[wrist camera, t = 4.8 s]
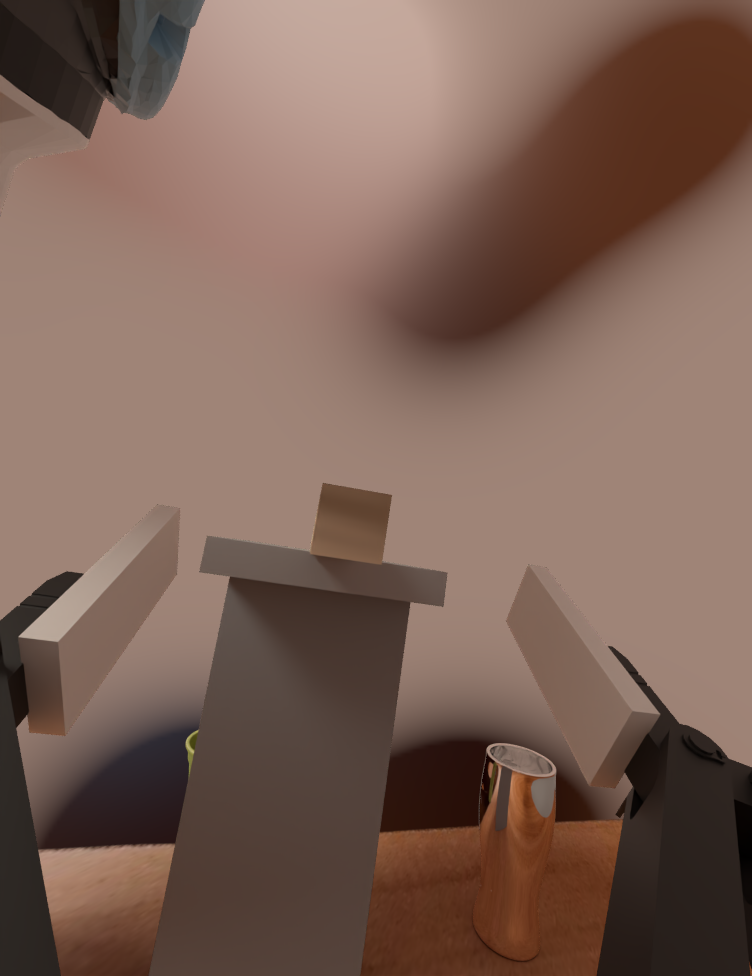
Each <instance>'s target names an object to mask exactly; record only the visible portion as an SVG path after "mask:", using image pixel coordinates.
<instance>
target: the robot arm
mask: <svg viewBox="0 0 752 976" xmlns="http://www.w3.org/2000/svg"><path fill="white" fill-rule="evenodd" d="M204 1H205V0H0V215H1V212H2V209H3V206H4V202H5V199H6V196H7V193H8V190H9V186H10V183H11V180H12V177H13V174H14V171H15V170H16V169H17V167H18V166H19V165H20V164H21V163H23V162H24V161H26V160H28V159H29V158H34V157H40V156H46V155H52V154H58V153H64V152H69V151H76V150H82V149H86V148H87V146H88V143H89V141H90V137H91V134H92V131H93V128H94V126H95V123H96V120H97V117H98V114H99V111H100V109H101V106H102V103H103V101H104V100H105V98H107V99H108V101H109V102H111V103H113V104H114V105H115V106H116V107H117V108H118V109H119V110H120V111H121V113H122V114H123V113H128V114H131V115H133V116H135V117H137V118H140V119H144V120H147V119H150V118H153V117H154V116H155V115H156V114H157V113H158V112H159V111H160V110H161V108H162V107H163V105H164V103H165V102H166V100H167V98H168V96H169V94H170V91H171V90H172V88H173V86H174V83H175V81H176V79H177V77H178V73H179V69H180V66H181V62H182V59H183V56H184V53H185V50H186V46H187V42H188V37H189V33H190V29H191V28H192V27H193V26H195V24H196V21H197V18H198V16H199V13H200V10H201V8H202V6H203V3H204ZM179 520H180V508H176V507H170V506H164V505H158V504H157V505H156V506H155V507H154V508H153V509H152V510H151V511H150V512H149V513H148V514H147V515H146V516H145V517H144V518H143V519H142V520H141V521H139V522H138V523H137V524H136V525H135V526H134V527H133V528H132V529H131V530H130V531H129V532H128V533H127V534H126V535H125V536H124V537H123V538H122V539H121V540H119V541H118V542H117V543H116V544H115V545H114V546H113V547H112V548H111V549H110V550H109V551H108V552H107V553H106V554H105V555H104V556H103V557H102V558H101V559H100V560H99V561H97V562H96V563H95V564H94V565H93V566H92V567H91V568H90V569H89V570H88V571H87V572H86V573H85V574H82V573H74V572H65V573H62V574H60V575H58V576H56V577H54V578H52V579H50V580H47V581H46V582H45V583H44V584H42V585H41V586H40V587H39V588H38V589H37V590H35V591H34V592H33V593H32V595H31V596H29V597H27V598H26V599H25V600H24V601H23V602H22V603H20V606H17V607H16V608H14V609H13V610H12V611H11V612H10V613H9V614H7V615H6V616H5V617H4V618H3V619H2V620H0V976H61V974H60V969H59V963H58V958H57V952H56V947H55V941H54V936H53V930H52V925H51V919H50V913H49V908H48V902H47V897H46V891H45V886H44V880H43V875H42V869H41V864H40V858H39V852H38V847H37V841H36V836H35V831H34V825H33V819H32V814H31V808H30V802H29V798H28V791H27V786H26V780H25V775H24V769H23V764H22V758H21V753H20V747H19V742H18V736H17V731H16V728H17V726H18V725H19V724H20V723H21V722H22V720H23V719H24V718H25V717H26V715H27V716H28V723H29V732H30V733H41V734H51V735H62V736H65V735H66V734H67V733H68V731H69V730H70V728H71V727H72V726H73V724H74V723H75V721H76V720H77V718H78V717H79V715H80V714H81V713H82V711H83V709H84V708H85V707H86V705H87V704H88V702H89V701H90V699H91V698H92V697H93V695H94V694H95V692H96V691H97V689H98V688H99V686H100V685H101V684H102V682H103V681H104V679H105V678H106V676H107V675H108V673H109V672H110V670H111V669H112V667H113V666H114V665H115V663H116V661H117V660H118V659H119V657H120V656H121V654H122V653H123V652H124V650H125V649H126V647H127V646H128V644H129V643H130V641H131V640H132V638H133V637H134V636H135V634H136V633H137V631H138V630H139V628H140V626H141V625H142V624H143V622H144V621H145V620H146V618H147V617H148V615H149V614H150V612H151V611H152V609H153V608H154V607H155V605H156V604H157V602H158V601H159V599H160V598H161V596H162V595H163V593H164V592H165V591H166V589H167V588H168V586H169V585H170V583H171V582H172V580H173V579H174V577H175V576H176V575H177V563H178V562H177V561H178V541H179ZM506 622H507V624H508V626H509V628H510V630H511V632H512V634H513V636H514V638H515V640H516V642H517V644H518V646H519V648H520V650H521V652H522V654H523V656H524V658H525V660H526V662H527V664H528V666H529V668H530V670H531V672H532V673H533V676H534V678H535V680H536V682H537V683H538V686H539V687H540V690H541V692H542V693H543V696H544V698H545V700H546V701H547V703H548V705H549V707H550V709H551V711H552V713H553V715H554V717H555V719H556V721H557V723H558V725H559V727H560V729H561V731H562V733H563V735H564V737H565V739H566V741H567V743H568V745H569V747H570V749H571V751H572V753H573V755H574V757H575V759H576V761H577V763H578V765H579V767H580V769H581V771H582V773H583V775H584V777H585V779H586V781H587V783H588V784H589V786H596V787H607V788H615V787H616V786H617V784H618V783H619V781H620V779H621V778H622V776H623V774H624V773H626V775H627V777H628V779H629V780H630V782H631V783H632V785H633V788H632V789H631V791H630V792H629V794H628V796H627V797H626V798H625V800H624V802H623V803H622V805H621V806H620V808H619V809H618V811H617V813H616V815H617V816H618V817H619V818H620V817H621V816H622V814H623V813H624V819H623V825H622V830H621V836H620V842H619V848H618V854H617V860H616V866H615V871H614V877H613V883H612V889H611V895H610V901H609V907H608V912H607V918H606V924H605V930H604V936H603V942H602V948H601V954H600V959H599V965H598V971H597V976H750V967H749V962H750V965H751V968H752V767H749V766H746V765H744V764H741V763H739V762H736V761H733V760H730V759H728V757H727V756H726V755H725V753H724V752H723V751H722V749H721V748H720V747H719V746H718V745H717V744H716V743H714V742H713V741H712V740H711V739H710V738H709V737H707V736H706V735H704V734H703V733H701V732H700V731H698V730H696V729H694V728H692V727H690V726H687V725H682V724H679V723H678V722H677V720H676V719H675V718H674V716H673V715H672V714H671V713H670V711H669V710H668V709H667V708H666V706H665V705H664V704H663V703H662V701H661V700H660V699H659V698H658V696H657V695H656V694H655V693H654V692H653V690H652V689H651V688H650V686H647V683H646V682H645V680H644V679H643V678H642V677H641V676H640V675H638V672H637V670H636V669H635V668H634V667H633V665H632V664H631V663H630V662H629V660H628V659H626V657H624V656H623V655H622V654H621V653H619V652H618V651H617V650H616V649H615V648H613V647H611V646H607V645H606V644H605V642H604V641H603V640H602V638H601V637H600V636H599V635H598V633H597V632H596V631H595V629H594V628H593V627H592V626H591V624H590V623H589V622H588V620H587V619H586V618H585V616H584V615H583V614H582V613H581V611H580V610H579V609H578V608H577V606H576V605H575V604H574V602H573V601H572V600H571V598H570V597H569V596H568V595H567V594H566V592H565V591H564V589H563V588H562V587H561V585H560V584H559V583H558V582H557V580H556V579H555V578H554V576H553V575H552V574H551V573H550V571H549V570H548V569H547V568H546V567H541V566H534V565H528V567H527V569H526V572H525V574H524V577H523V579H522V582H521V584H520V587H519V589H518V592H517V595H516V597H515V600H514V602H513V605H512V607H511V610H510V612H509V615H508V617H507V620H506Z"/></svg>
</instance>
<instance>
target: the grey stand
mask: <svg viewBox="0 0 752 976" xmlns="http://www.w3.org/2000/svg"><path fill="white" fill-rule="evenodd" d="M199 572H202V573H210V574H217V575H223V576H230V579H229V584H228V589H227V594H226V598H225V603H224V608H223V613H222V618H221V623H220V628H219V633H218V638H217V643H216V648H215V652H214V658H213V663H212V667H211V672H210V677H209V682H208V687H207V692H206V697H205V701H204V707H203V711H202V716H201V721H200V726H199V731H198V736H197V741H196V745H195V750H194V755H193V760H192V765H191V770H190V775H189V780H188V785H187V790H186V794H185V799H184V804H183V809H182V814H181V819H180V824H179V829H178V834H177V839H176V843H175V848H174V853H173V858H172V863H171V868H170V873H169V878H168V883H167V888H166V892H165V897H164V902H163V907H162V912H161V917H160V922H159V927H158V932H157V937H156V942H155V946H154V951H153V956H152V961H151V966H150V971H149V976H360V973H361V966H362V958H363V951H364V944H365V936H366V929H367V921H368V914H369V906H370V899H371V892H372V884H373V877H374V869H375V862H376V854H377V847H378V839H379V832H380V824H381V817H382V809H383V802H384V795H385V787H386V779H387V772H388V765H389V757H390V750H391V743H392V735H393V727H394V720H395V713H396V705H397V697H398V691H399V683H400V676H401V668H402V661H403V660H402V659H403V653H404V645H405V639H406V631H407V623H408V616H409V608H410V602H414V603H421V604H428V605H435V606H442V607H443V605H444V597H445V588H446V581H447V573H446V572H441V571H436V570H430V569H424V568H418V567H413V566H408V565H401V564H396V563H390V562H384V561H382V565H379V564H373V563H366V562H360V561H353V560H346V559H340V558H333V557H327V556H320V555H313V554H310V550H305V549H299V548H292V547H286V546H279V545H273V544H266V543H260V542H253V541H246V540H237V539H229V538H220V537H212V536H207V539H206V543H205V548H204V553H203V557H202V562H201V567H200V571H199Z"/></svg>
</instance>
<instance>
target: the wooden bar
mask: <svg viewBox="0 0 752 976" xmlns="http://www.w3.org/2000/svg"><path fill="white" fill-rule="evenodd" d="M391 497H392V495H388V494H383V493H377V492H372V491H365V490H360V489H354V488H348V487H343V486H337V485H332V484H326V483H323V485H322V490H321V495H320V500H319V505H318V509H317V514H316V519H315V524H314V530H313V536H312V541H311V547H310V554H313V555H320V556H327V557H333V558H340V559H346V560H353V561H360V562H366V563H373V564H379V565H382V559H383V552H384V545H385V538H386V531H387V524H388V518H389V511H390V504H391Z"/></svg>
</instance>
